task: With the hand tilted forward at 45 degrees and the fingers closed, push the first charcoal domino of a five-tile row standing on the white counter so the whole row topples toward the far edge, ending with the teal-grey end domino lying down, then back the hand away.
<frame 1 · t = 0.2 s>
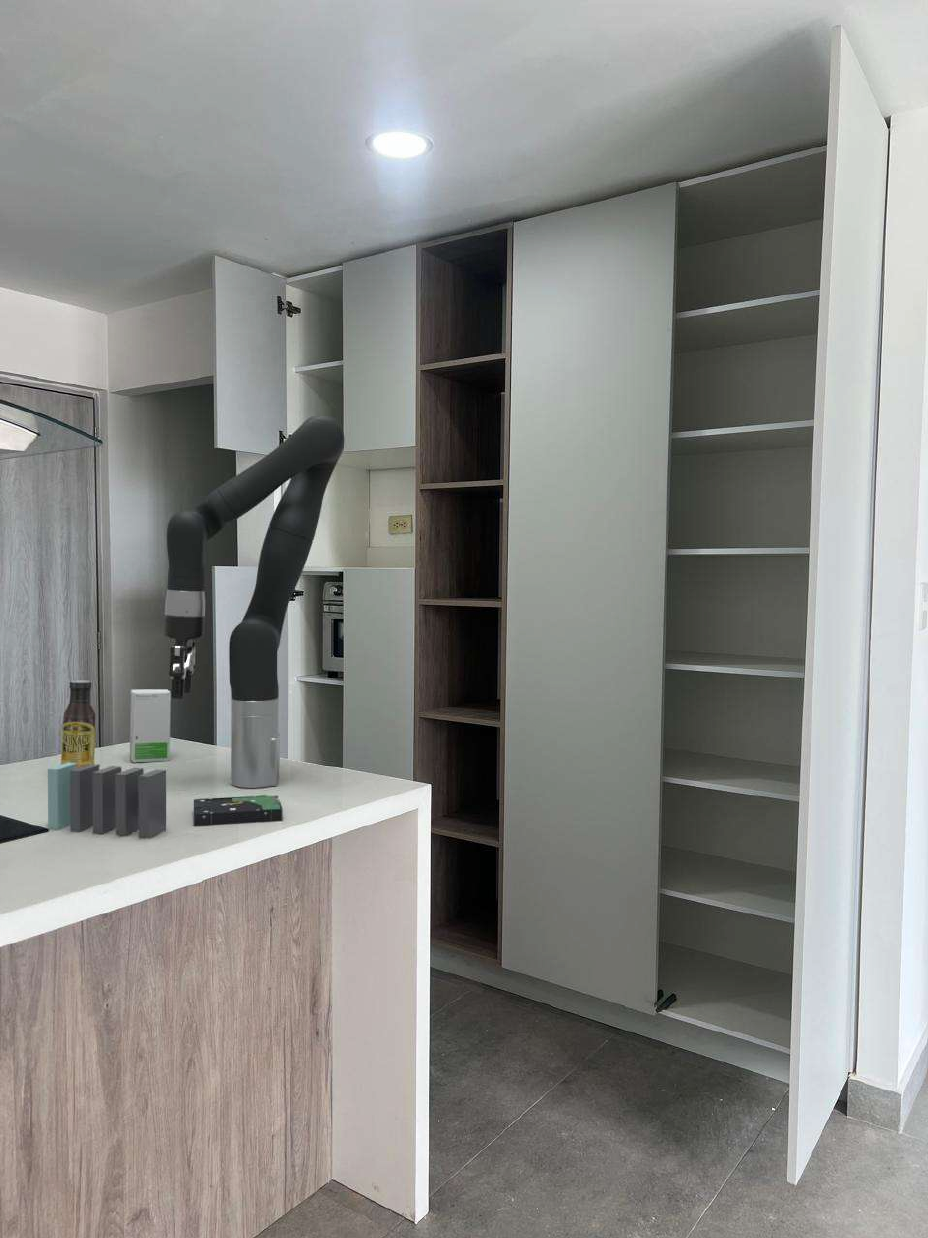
hand: (181, 695, 180), 18 cm above the table, tool pointing down, fingers open, 8 cm apart
domino 4: (85, 827, 151), on the table
domino 2: (129, 831, 149), on the table
domino 5: (63, 825, 152), on the table
sauce bottle: (78, 779, 185), on the table
domino 1: (152, 834, 148), on the table
disk drive: (237, 819, 159), on the table
skincare box: (150, 760, 204), on the table
domino 3: (107, 829, 150), on the table
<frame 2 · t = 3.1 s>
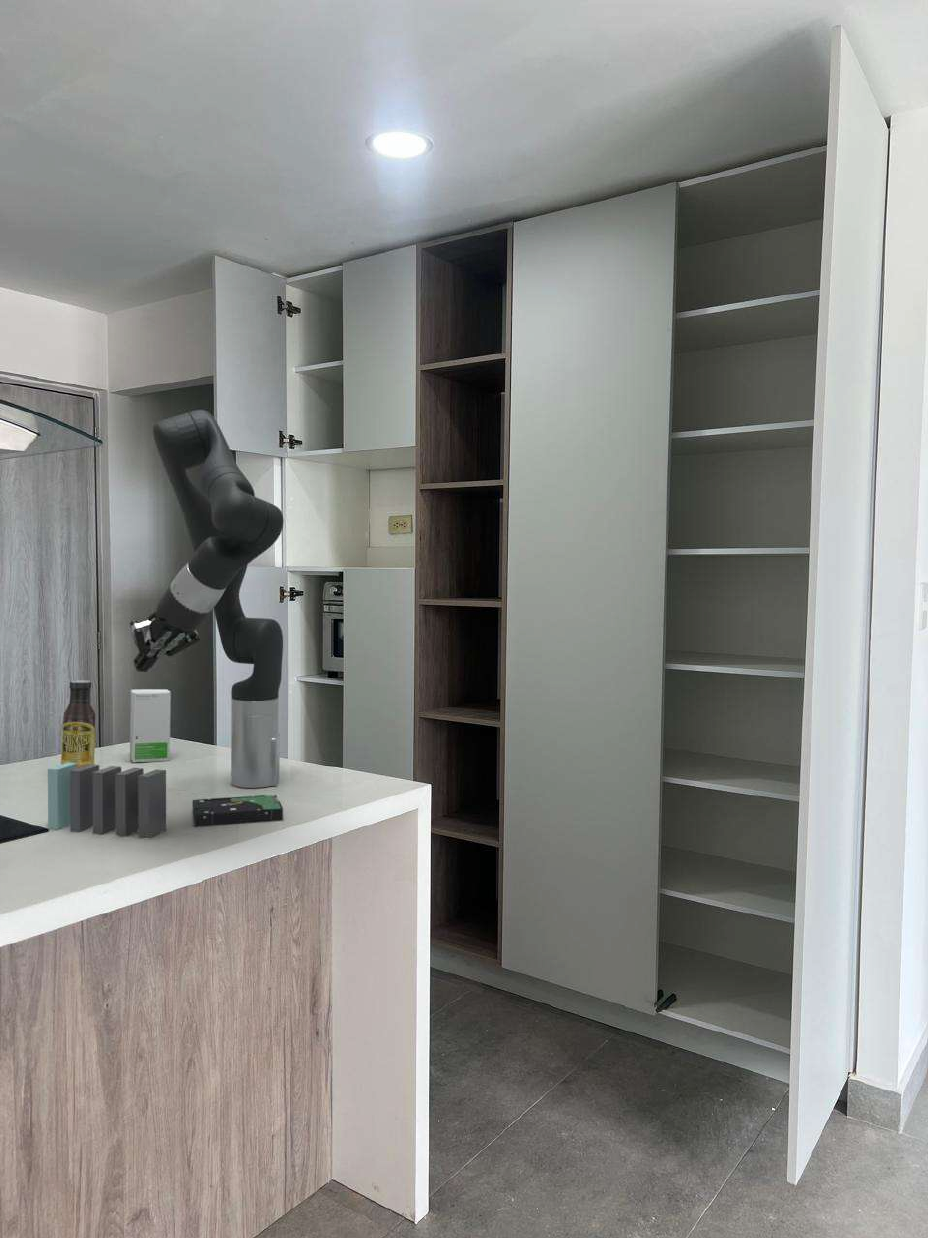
hand: (139, 668, 151), 26 cm above the table, tool tilted 45°, fingers closed
nothing on the table moved.
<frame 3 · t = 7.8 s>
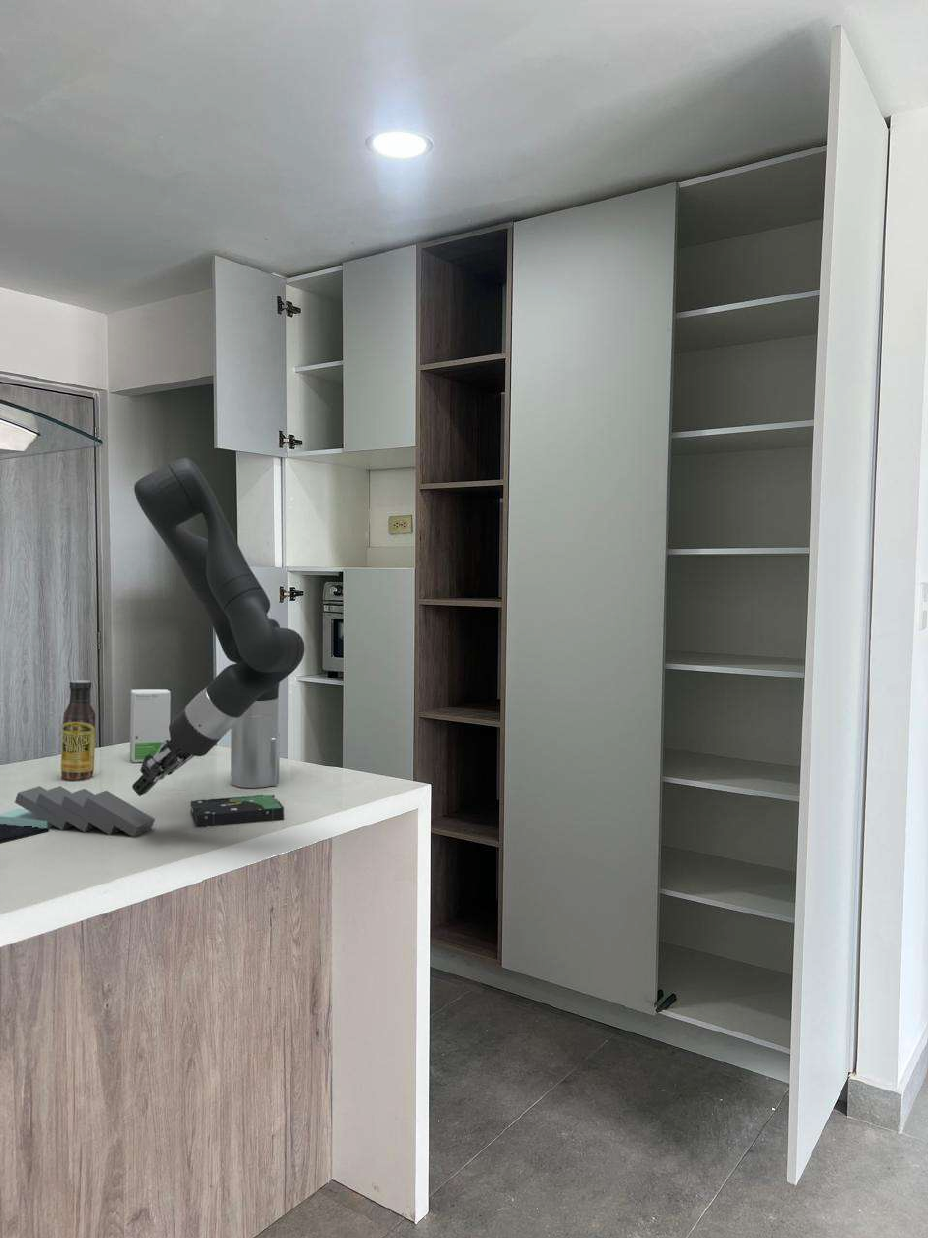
hand: (138, 790, 148), 7 cm above the table, tool tilted 45°, fingers closed
domino 4: (74, 821, 151), point 1 cm above the table, tilted 68°, touching domino 3, domino 5
domino 2: (121, 826, 149), point 1 cm above the table, tilted 66°, touching domino 1, domino 3
domino 5: (57, 822, 152), on the table, tilted 90°, touching domino 4
domino 1: (144, 828, 148), point 1 cm above the table, tilted 66°, touching domino 2
domino 3: (96, 823, 150), point 1 cm above the table, tilted 66°, touching domino 2, domino 4
everything else where it was.
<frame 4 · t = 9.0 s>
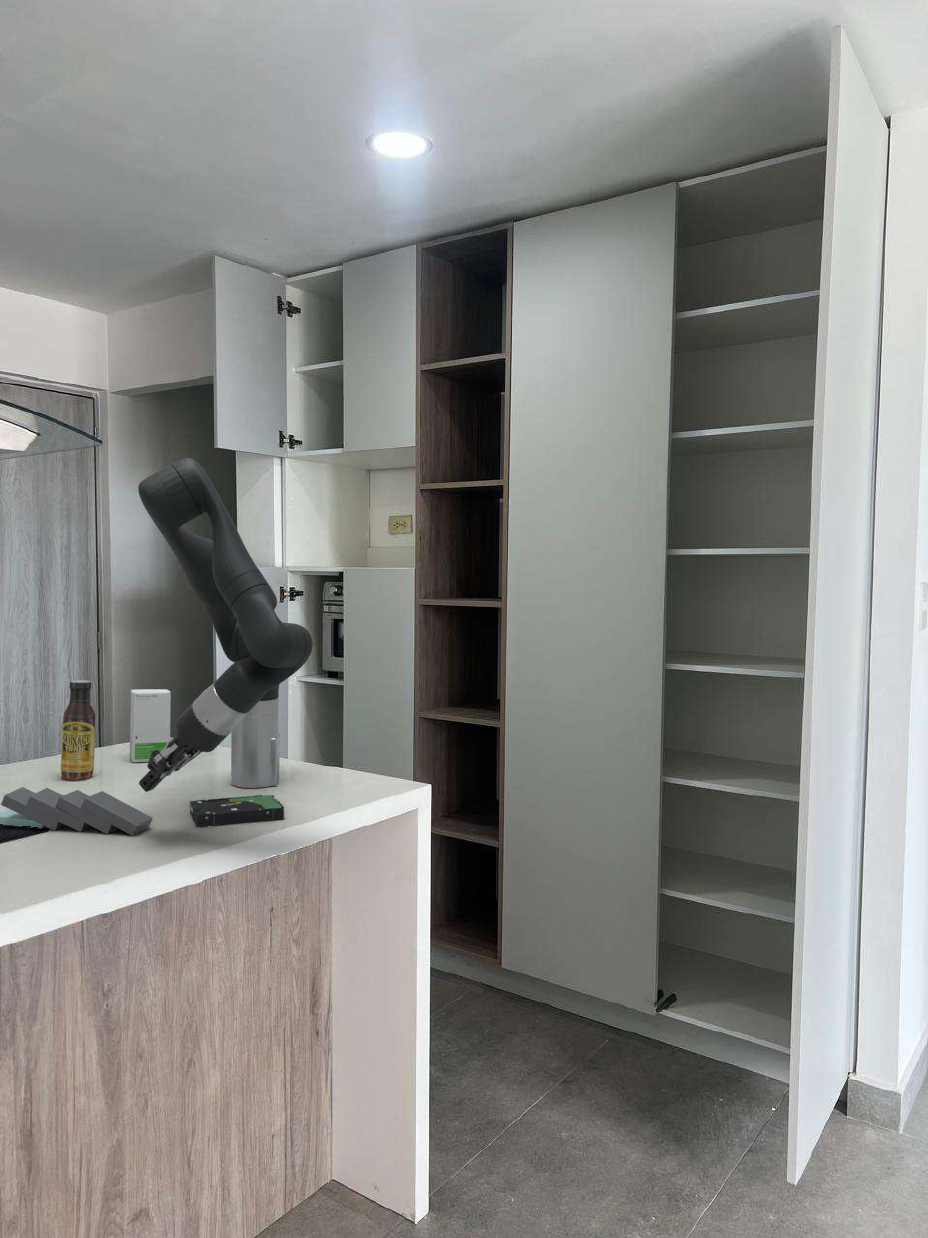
hand: (145, 786, 147), 8 cm above the table, tool tilted 45°, fingers closed
domino 4: (64, 821, 151), point 1 cm above the table, tilted 67°, touching domino 3, domino 5
domino 1: (142, 826, 149), point 1 cm above the table, tilted 67°, touching domino 2
domino 3: (90, 822, 150), point 1 cm above the table, tilted 67°, touching domino 2, domino 4
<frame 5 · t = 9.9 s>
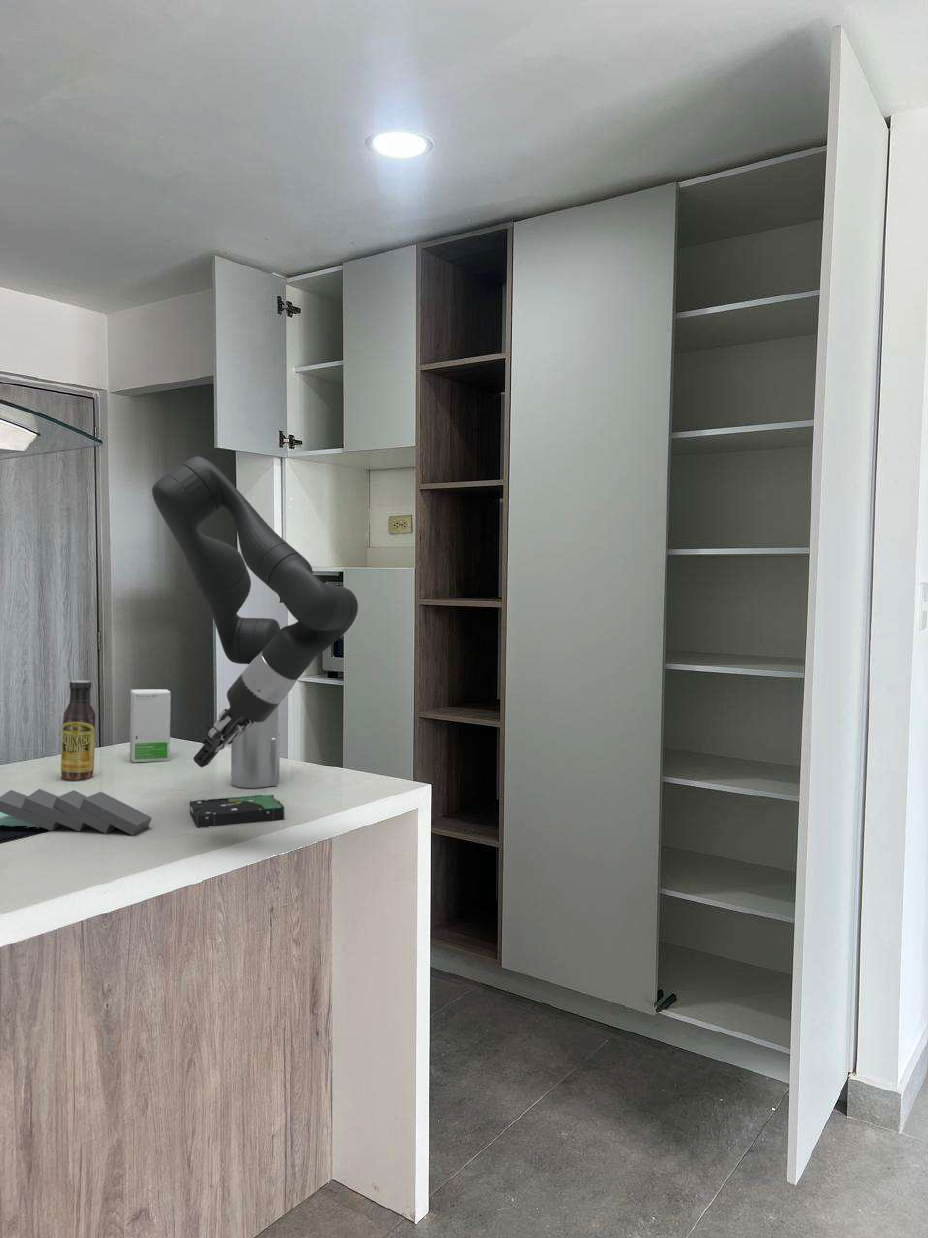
hand: (199, 762, 146), 12 cm above the table, tool tilted 40°, fingers closed
domino 4: (60, 820, 151), point 1 cm above the table, tilted 69°, touching domino 3
domino 2: (115, 824, 150), point 1 cm above the table, tilted 67°
domino 5: (48, 822, 152), on the table, tilted 90°
domino 1: (142, 826, 149), point 1 cm above the table, tilted 67°
domino 3: (87, 821, 151), point 1 cm above the table, tilted 67°, touching domino 4
everything else where it was.
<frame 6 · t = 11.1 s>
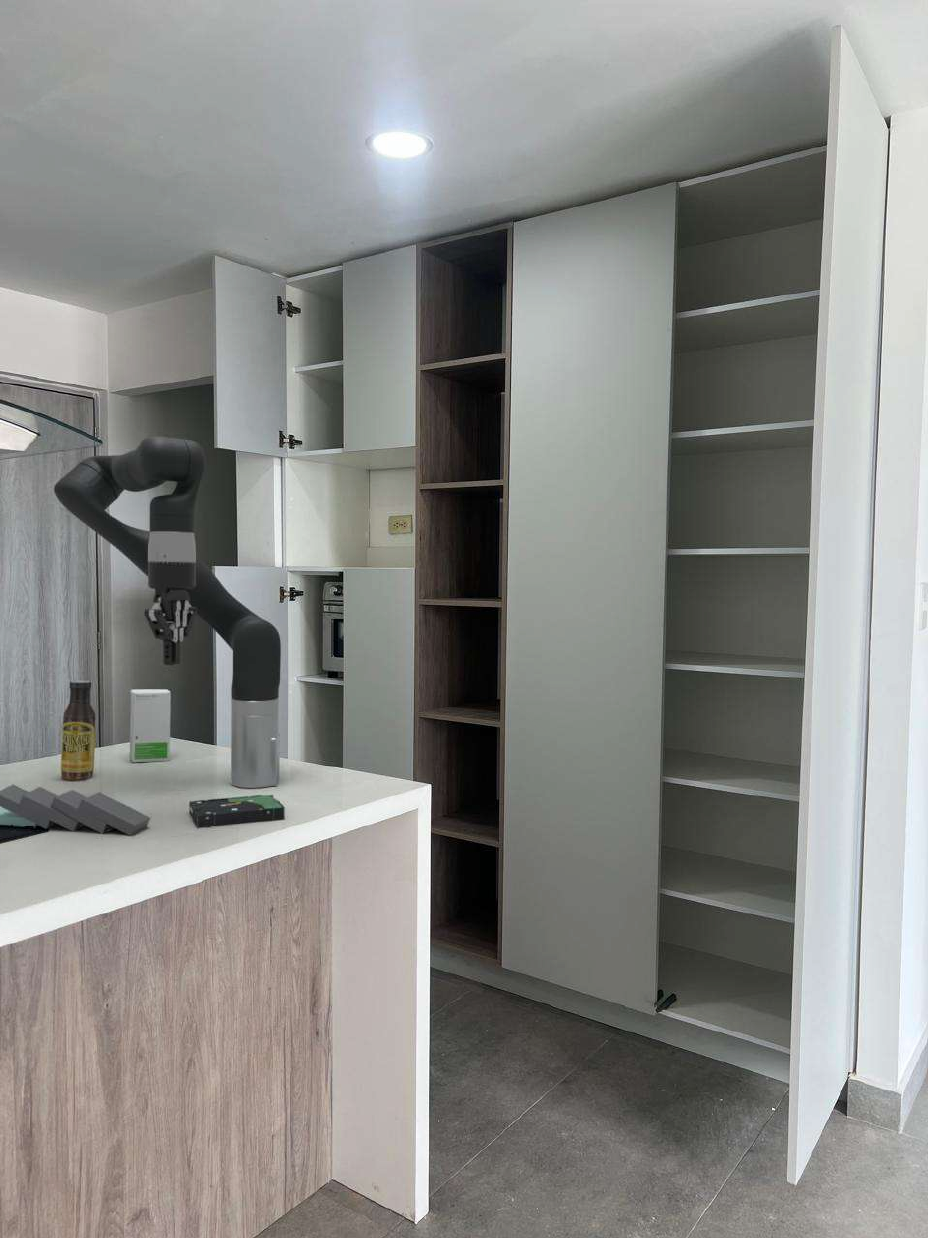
hand: (172, 664, 151), 27 cm above the table, tool pointing down, fingers closed
domino 4: (56, 819, 151), point 1 cm above the table, tilted 66°, touching domino 3, domino 5
domino 2: (112, 824, 150), point 1 cm above the table, tilted 68°, touching domino 1, domino 3
domino 5: (44, 820, 153), on the table, tilted 90°, touching domino 4
domino 1: (140, 826, 149), point 1 cm above the table, tilted 68°, touching domino 2
domino 3: (83, 822, 151), point 1 cm above the table, tilted 66°, touching domino 2, domino 4
everything else where it was.
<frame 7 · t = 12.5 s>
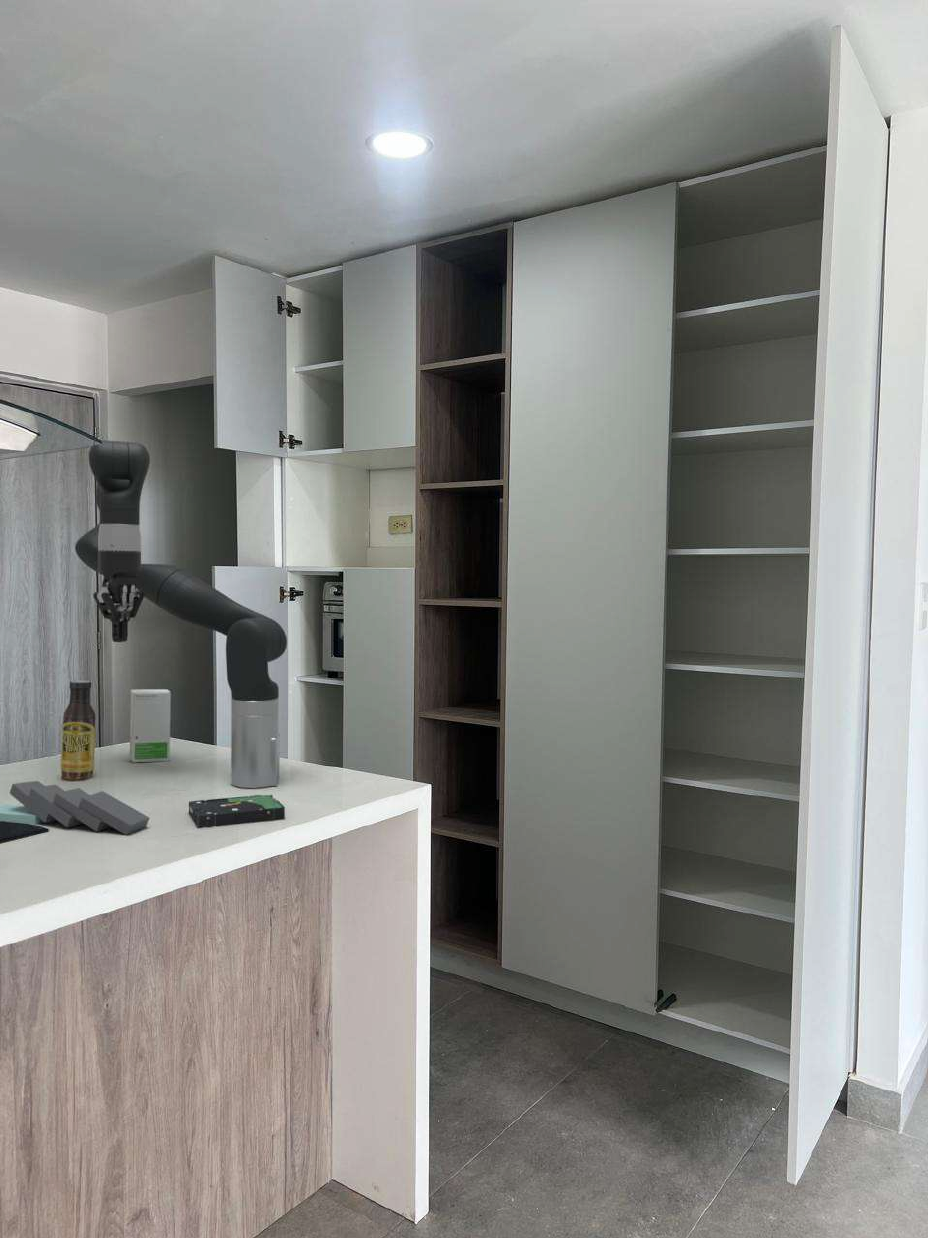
hand: (120, 641, 171), 29 cm above the table, tool pointing down, fingers closed
domino 4: (59, 816, 153), point 1 cm above the table, tilted 68°, touching domino 3, domino 5
domino 5: (45, 817, 154), on the table, tilted 90°, touching domino 4
domino 3: (80, 820, 151), point 1 cm above the table, tilted 68°, touching domino 2, domino 4
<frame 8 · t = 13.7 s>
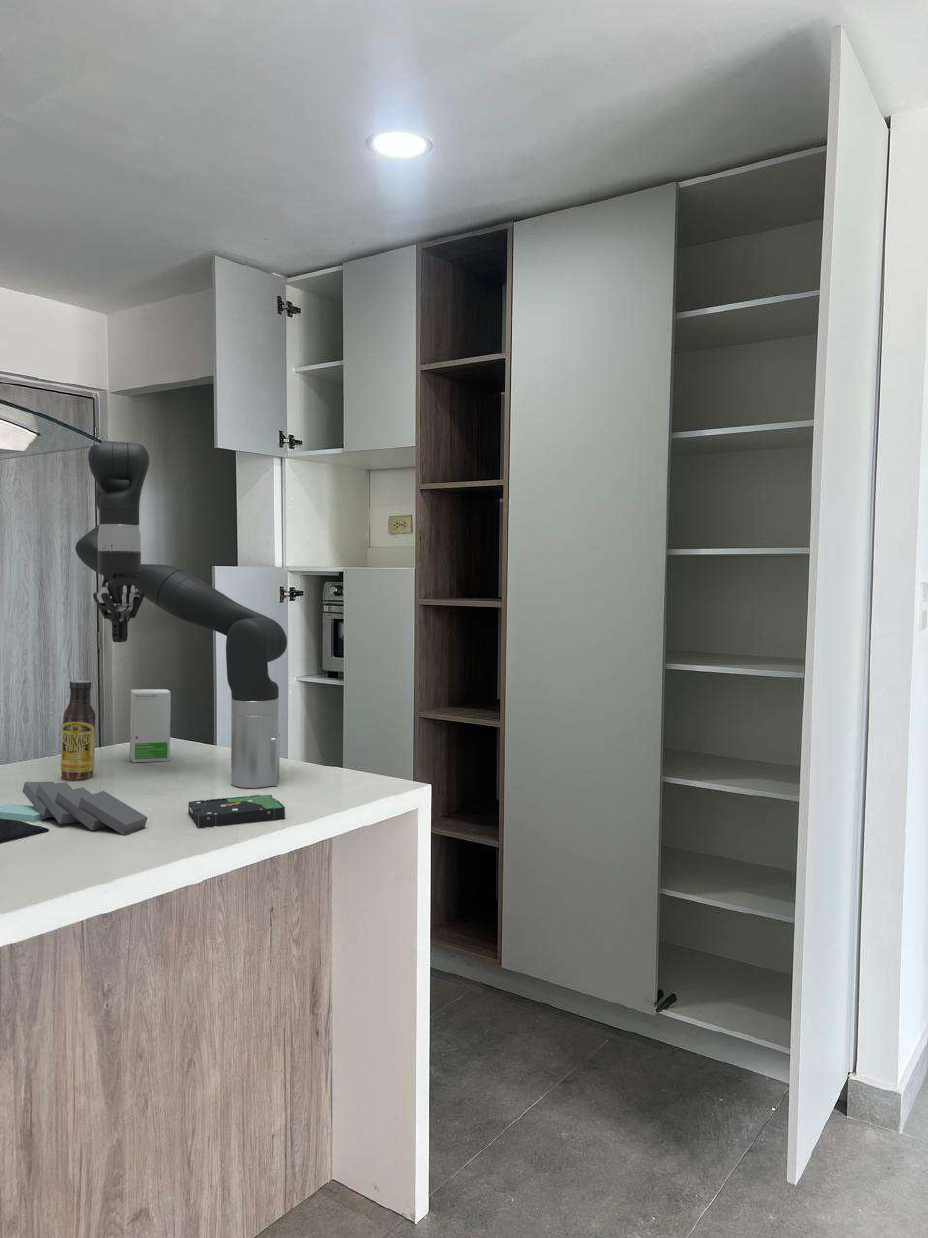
hand: (119, 641, 171), 29 cm above the table, tool pointing down, fingers closed
domino 4: (59, 812, 155), point 1 cm above the table, tilted 75°, touching domino 3, domino 5
domino 5: (45, 817, 156), on the table, tilted 90°, touching domino 4
domino 3: (75, 818, 152), point 1 cm above the table, tilted 70°, touching domino 2, domino 4
at the end: domino 5 tilted 90°; domino 1 tilted 69°; the gripper is holding nothing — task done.
